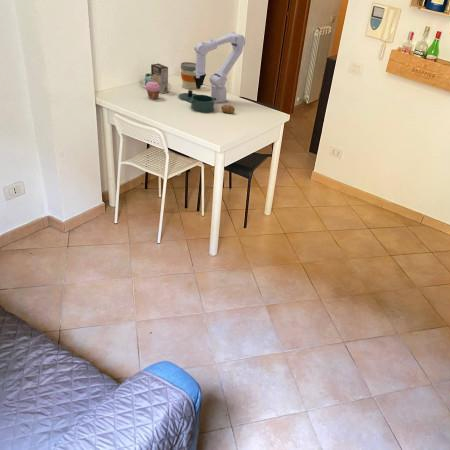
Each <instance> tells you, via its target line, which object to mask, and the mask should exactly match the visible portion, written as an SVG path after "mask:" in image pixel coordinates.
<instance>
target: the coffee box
mask: <svg viewBox="0 0 450 450" xmlns="http://www.w3.org/2000/svg"><path fill="white" fill-rule="evenodd" d="M150 75H151V77H150V78H151V79H150V80H151V81H150V82H157V83H158V84H159V85H160V87H161V90H160V91H159V94H166V93H168V92H169V66H166V65H163V64H162V63H152V64H150Z"/></svg>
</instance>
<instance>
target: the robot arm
mask: <svg viewBox="0 0 450 450" xmlns="http://www.w3.org/2000/svg"><path fill="white" fill-rule="evenodd" d="M228 43H230V44H231V47H232V50H231V52H230V53H229V55H228V56H227V58H226V59H225V61H224V63H223V64H222V66H221V67H220V68H219V69H218V70H215V72H214V73H213V74H211V76H210V77H209V82H210V83H211V86H210V87H211V88H210V89H211V91H210V97H212V98H213V97H214V98H216V100H214V104H217V103H224V102H227V91H228V90H227V87H225V86H226V82H227V80H228V78H227V76H228V74H229V73H230V71H231V70H232V68H233V67H234V65H235V64H236V62H237V61H238V59H239V58H240V56H241V55H242V53H243V49H244V46H245V45H246V38H245V36H244V35H243V34H239V33H237V32H236V31H231V32H228V33H227V34H225V35H223V36H222V37H219V38H217V39H214V38H209V40H206V41H203V42H202V43H201V42H198V43H196V45H195V47H194V51H195V63H196V71H193V72H194V73H196V76H194V80H195V83H196V89H197V90H200V89H201V87H203V85H204V83H205V82H204V81H205V78H206V76H207V73H206V63H207V60H206V59H207V55H208V53H209V52H212V51H214V50H217V49H218V47H219V46H223V45H225V44H228Z"/></svg>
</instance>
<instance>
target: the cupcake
mask: <svg viewBox="0 0 450 450" xmlns="http://www.w3.org/2000/svg"><path fill="white" fill-rule="evenodd" d="M145 90H146V92H147V96H148V98H149V99H151V100H155V99H159V97H160V93H159V91H160V90H161V87H160V85H159V84H158V83H157V82H151V81H147V82H146V83H145Z"/></svg>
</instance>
